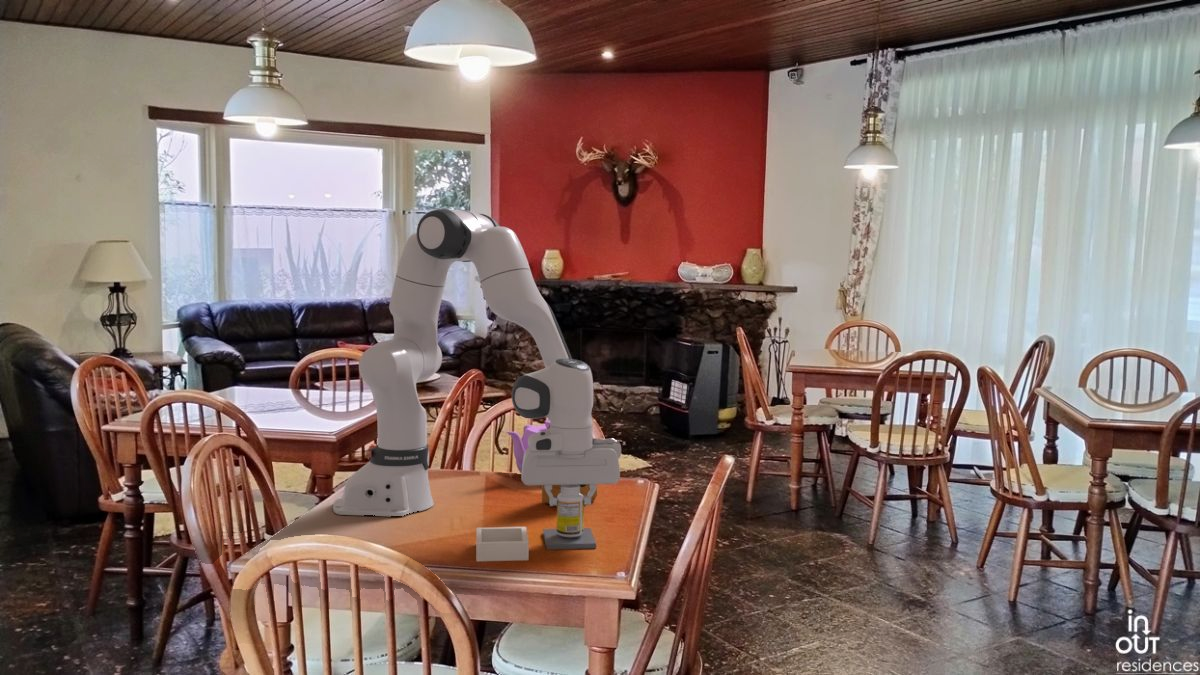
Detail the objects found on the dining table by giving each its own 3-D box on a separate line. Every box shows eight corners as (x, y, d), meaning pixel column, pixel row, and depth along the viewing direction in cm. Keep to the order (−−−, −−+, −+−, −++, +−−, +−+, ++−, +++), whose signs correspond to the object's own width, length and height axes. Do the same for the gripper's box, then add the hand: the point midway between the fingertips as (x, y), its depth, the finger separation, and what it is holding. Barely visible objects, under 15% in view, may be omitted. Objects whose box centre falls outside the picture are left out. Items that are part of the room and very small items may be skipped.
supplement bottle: (568, 528, 190) (569, 480, 189) (588, 534, 186) (589, 485, 185) (550, 534, 186) (551, 485, 185) (570, 540, 182) (571, 490, 181)
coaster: (546, 549, 180) (546, 544, 180) (543, 533, 190) (543, 529, 190) (596, 548, 182) (596, 543, 182) (590, 532, 192) (590, 528, 192)
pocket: (476, 561, 173) (476, 543, 172) (476, 544, 183) (476, 527, 182) (528, 560, 174) (528, 542, 174) (525, 543, 184) (525, 526, 184)
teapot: (548, 463, 253) (549, 410, 251) (595, 479, 236) (597, 422, 235) (479, 475, 238) (479, 419, 237) (524, 492, 222) (524, 432, 221)
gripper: (618, 435, 189) (617, 499, 190) (521, 436, 186) (520, 501, 187) (623, 441, 182) (622, 508, 184) (522, 442, 180) (522, 510, 181)
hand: (570, 504), depth 185 cm, fingers closed on supplement bottle, 5 cm apart
